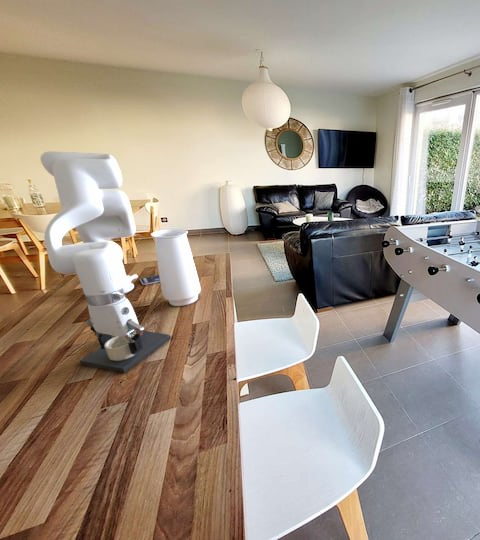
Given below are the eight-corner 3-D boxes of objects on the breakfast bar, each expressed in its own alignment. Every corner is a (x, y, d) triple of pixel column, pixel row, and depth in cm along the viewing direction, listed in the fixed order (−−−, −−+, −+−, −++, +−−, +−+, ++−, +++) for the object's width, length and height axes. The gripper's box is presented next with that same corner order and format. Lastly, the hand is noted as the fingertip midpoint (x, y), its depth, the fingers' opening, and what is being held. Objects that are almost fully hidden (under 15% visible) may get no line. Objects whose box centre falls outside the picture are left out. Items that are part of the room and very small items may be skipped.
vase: (207, 293, 121) (196, 229, 111) (192, 308, 109) (178, 238, 99) (176, 292, 121) (162, 227, 110) (157, 307, 109) (139, 236, 98)
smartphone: (139, 278, 130) (177, 271, 139) (139, 279, 130) (177, 272, 140) (142, 284, 125) (181, 276, 134) (143, 285, 125) (181, 277, 135)
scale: (131, 332, 94) (129, 324, 93) (170, 338, 92) (168, 330, 91) (79, 364, 80) (76, 355, 78) (124, 372, 78) (121, 363, 76)
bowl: (125, 345, 86) (121, 332, 84) (144, 348, 85) (141, 335, 83) (102, 359, 80) (97, 346, 78) (123, 363, 79) (119, 350, 77)
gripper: (146, 293, 77) (160, 345, 84) (92, 285, 80) (109, 336, 86) (120, 307, 71) (137, 362, 77) (62, 298, 73) (83, 352, 79)
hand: (122, 348), depth 82 cm, fingers open, 9 cm apart
